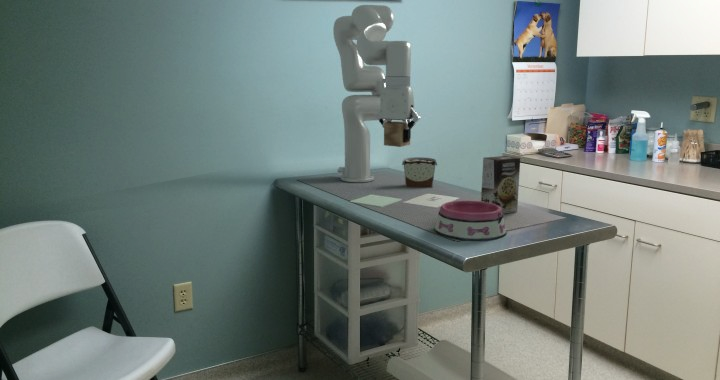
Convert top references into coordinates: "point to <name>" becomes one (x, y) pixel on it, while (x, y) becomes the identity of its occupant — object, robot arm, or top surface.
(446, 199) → the card
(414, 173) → the food container
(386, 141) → the walnut block
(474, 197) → the top surface
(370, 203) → the mat
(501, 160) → the coffee box
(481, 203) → the dog bowl
